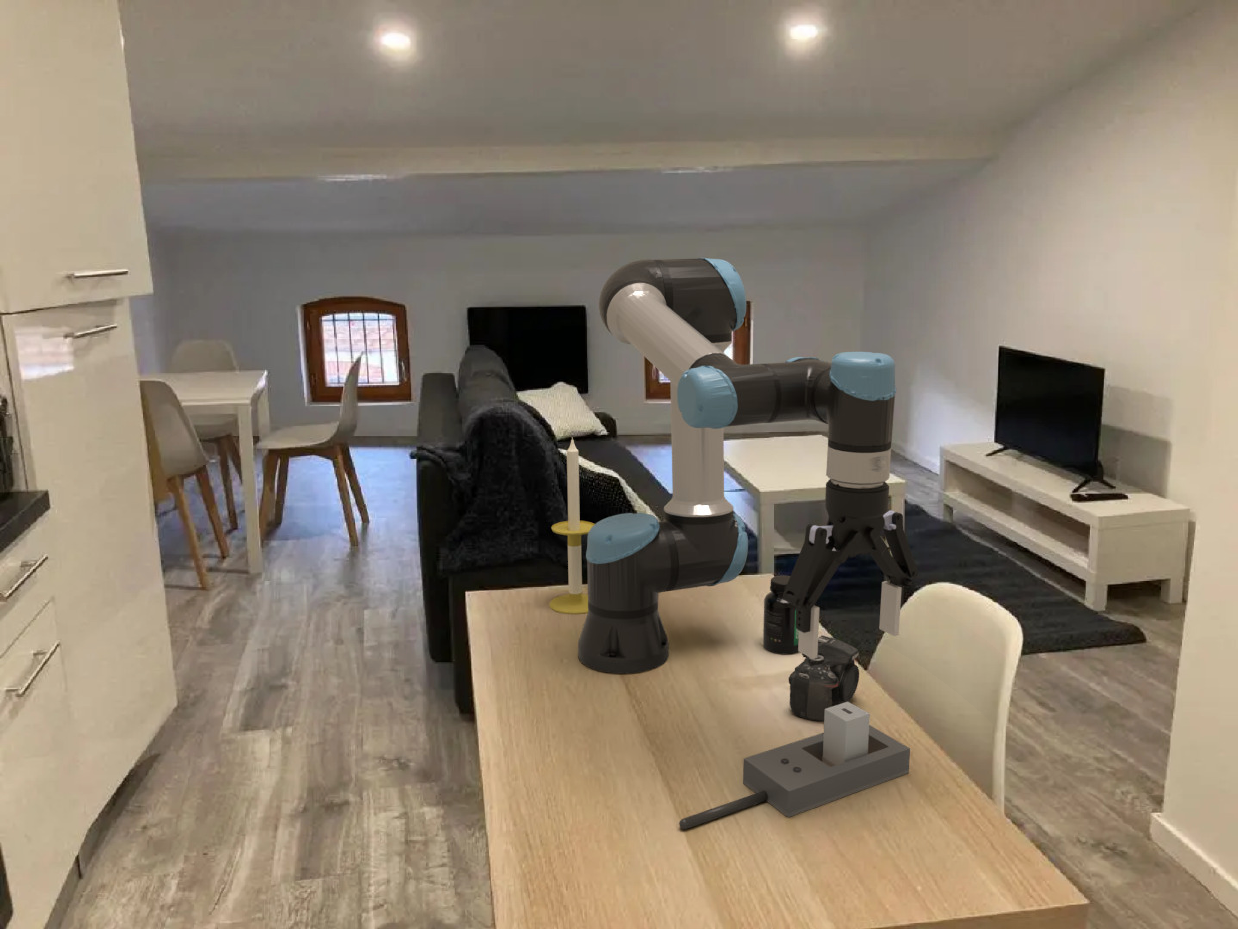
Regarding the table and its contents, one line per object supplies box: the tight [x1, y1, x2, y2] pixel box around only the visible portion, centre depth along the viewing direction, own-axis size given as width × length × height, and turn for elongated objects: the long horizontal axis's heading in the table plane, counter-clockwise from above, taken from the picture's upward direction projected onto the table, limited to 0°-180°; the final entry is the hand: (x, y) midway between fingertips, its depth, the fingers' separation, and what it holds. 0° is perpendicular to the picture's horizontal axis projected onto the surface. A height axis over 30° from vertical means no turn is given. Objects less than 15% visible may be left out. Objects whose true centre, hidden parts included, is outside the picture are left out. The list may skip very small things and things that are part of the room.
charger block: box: [822, 701, 871, 767], centre depth 131 cm, size 4×4×8 cm
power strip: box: [678, 724, 911, 830], centre depth 127 cm, size 33×9×4 cm, turn 120°
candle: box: [549, 436, 596, 615], centre depth 188 cm, size 10×10×32 cm
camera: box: [788, 633, 860, 722], centre depth 150 cm, size 13×10×10 cm
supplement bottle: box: [762, 574, 800, 655], centre depth 170 cm, size 7×7×12 cm
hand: (849, 643), depth 128 cm, fingers open, 13 cm apart
